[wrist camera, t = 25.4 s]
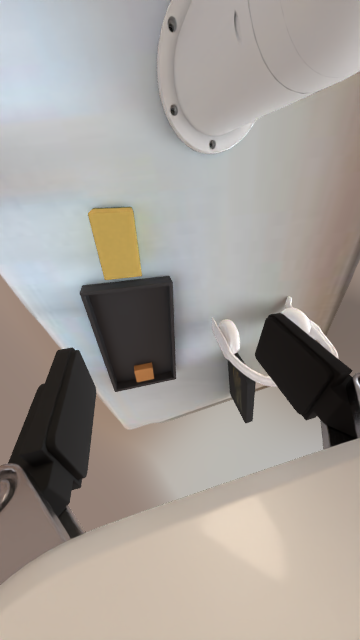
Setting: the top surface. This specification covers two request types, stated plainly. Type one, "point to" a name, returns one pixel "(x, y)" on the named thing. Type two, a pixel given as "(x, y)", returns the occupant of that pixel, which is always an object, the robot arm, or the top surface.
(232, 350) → the headset
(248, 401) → the nameplate
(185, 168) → the top surface
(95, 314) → the black shallow rectangular tray
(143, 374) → the orange square block
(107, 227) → the sponge
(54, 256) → the top surface
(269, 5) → the robot arm
